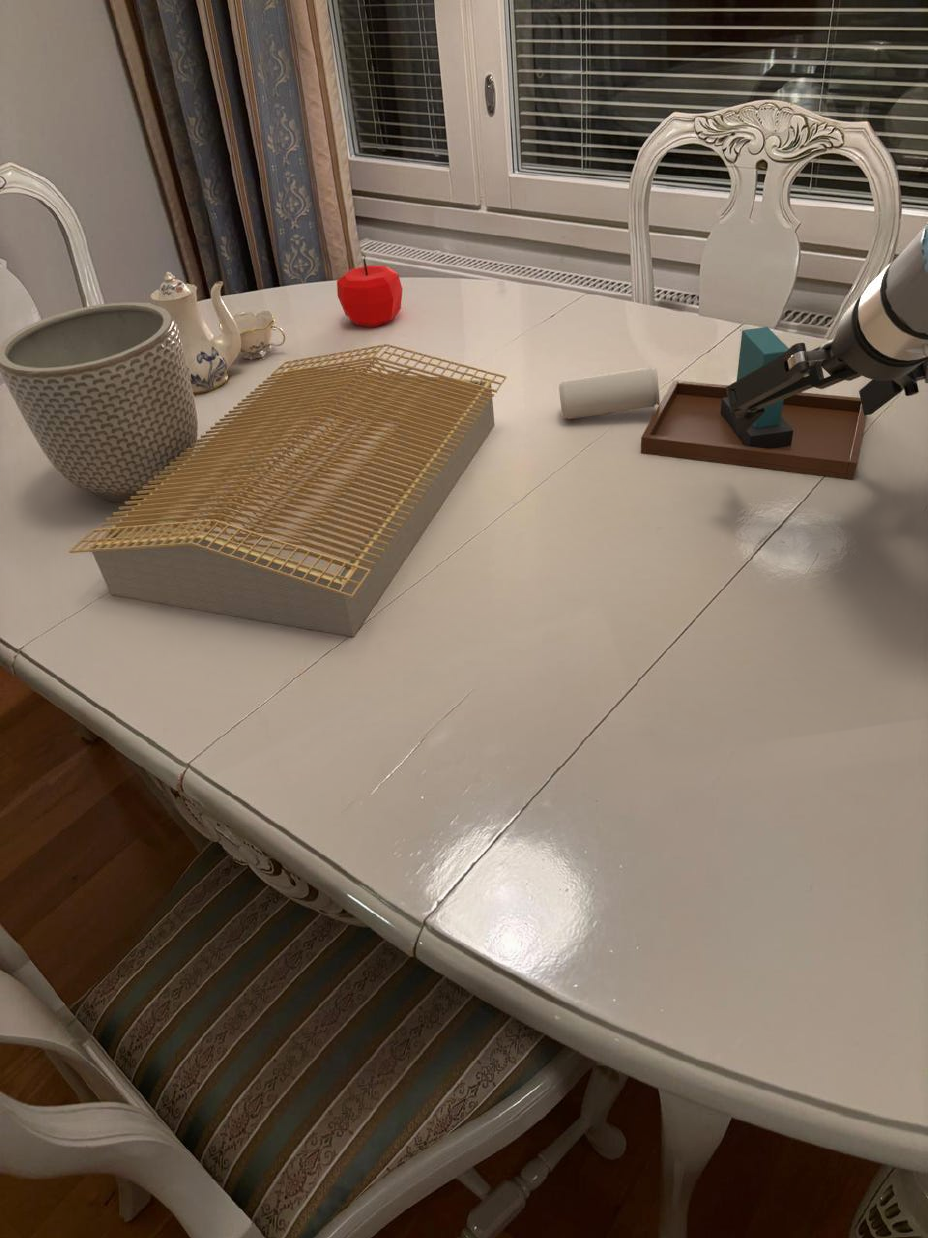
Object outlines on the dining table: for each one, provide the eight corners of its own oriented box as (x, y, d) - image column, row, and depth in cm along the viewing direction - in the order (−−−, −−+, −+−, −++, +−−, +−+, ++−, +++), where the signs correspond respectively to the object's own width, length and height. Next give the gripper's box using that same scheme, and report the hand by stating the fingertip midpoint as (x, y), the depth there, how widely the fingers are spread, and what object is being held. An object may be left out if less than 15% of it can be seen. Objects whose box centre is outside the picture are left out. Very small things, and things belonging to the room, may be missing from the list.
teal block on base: (759, 407, 110) (771, 320, 103) (791, 445, 102) (806, 354, 95) (720, 412, 109) (729, 325, 102) (748, 451, 102) (760, 360, 95)
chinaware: (282, 345, 145) (255, 238, 135) (301, 372, 131) (273, 255, 122) (108, 385, 139) (68, 275, 130) (109, 418, 125) (65, 298, 116)
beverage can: (558, 373, 112) (654, 358, 109) (563, 405, 115) (656, 390, 113) (559, 396, 109) (658, 380, 106) (564, 427, 112) (660, 413, 110)
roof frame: (363, 647, 82) (345, 565, 76) (91, 599, 92) (55, 523, 86) (509, 421, 114) (504, 350, 108) (294, 403, 124) (279, 337, 118)
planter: (53, 470, 115) (-10, 328, 103) (201, 428, 121) (158, 288, 108) (68, 544, 101) (-4, 389, 89) (235, 493, 106) (189, 340, 94)
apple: (405, 328, 141) (396, 264, 135) (339, 334, 142) (327, 271, 136) (407, 304, 150) (398, 243, 143) (345, 310, 150) (334, 249, 144)
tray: (866, 414, 107) (869, 398, 106) (853, 479, 96) (857, 462, 95) (672, 394, 116) (672, 379, 114) (640, 452, 105) (641, 436, 104)
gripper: (758, 386, 71) (690, 464, 92) (1062, 341, 71) (925, 428, 92) (740, 298, 72) (677, 395, 93) (1041, 254, 72) (910, 360, 93)
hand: (801, 412), depth 92 cm, fingers open, 13 cm apart
